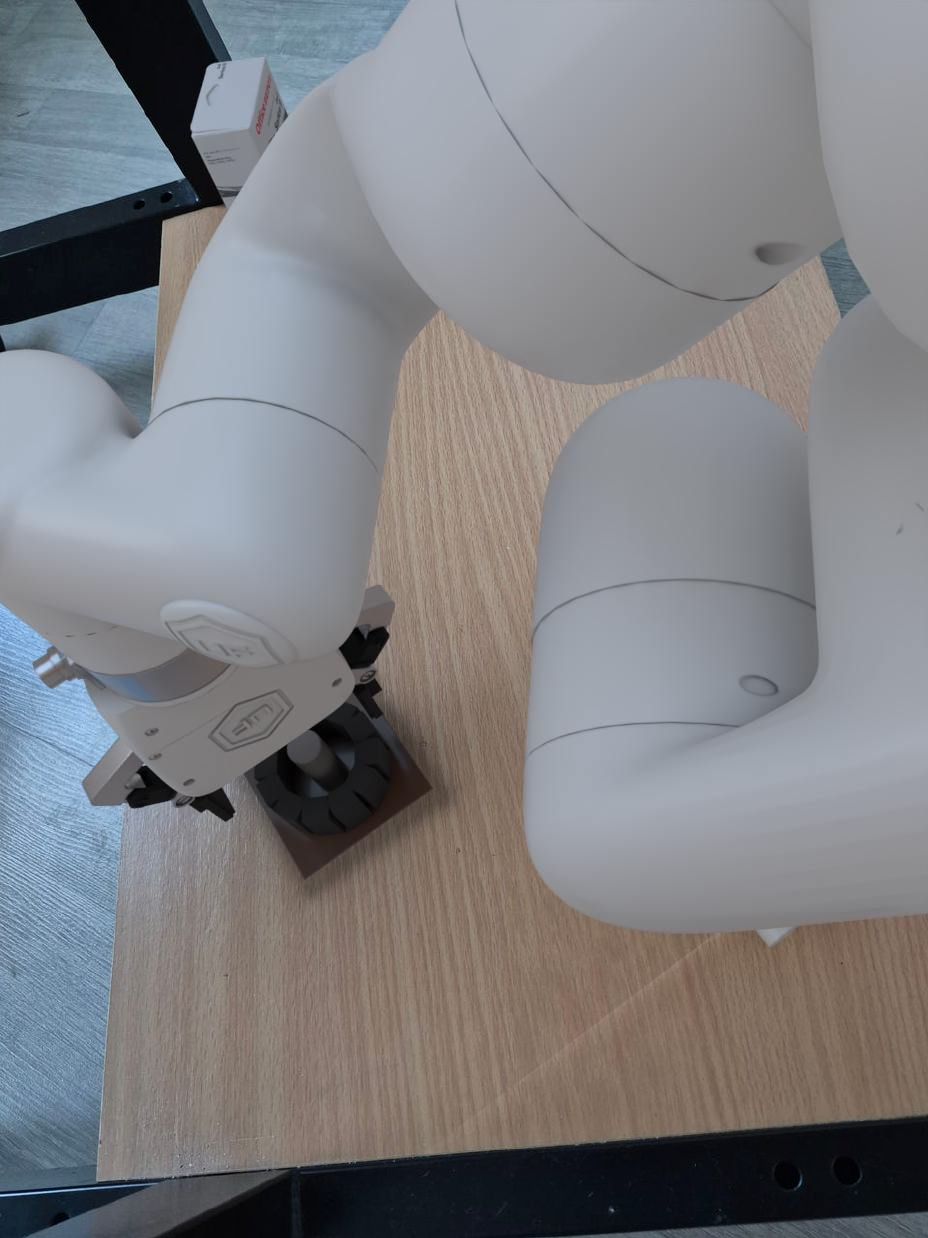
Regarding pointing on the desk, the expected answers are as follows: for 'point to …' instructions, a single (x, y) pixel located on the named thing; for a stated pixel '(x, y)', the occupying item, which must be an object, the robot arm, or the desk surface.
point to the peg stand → (325, 771)
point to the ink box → (236, 121)
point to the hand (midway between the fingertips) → (293, 747)
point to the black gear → (344, 801)
